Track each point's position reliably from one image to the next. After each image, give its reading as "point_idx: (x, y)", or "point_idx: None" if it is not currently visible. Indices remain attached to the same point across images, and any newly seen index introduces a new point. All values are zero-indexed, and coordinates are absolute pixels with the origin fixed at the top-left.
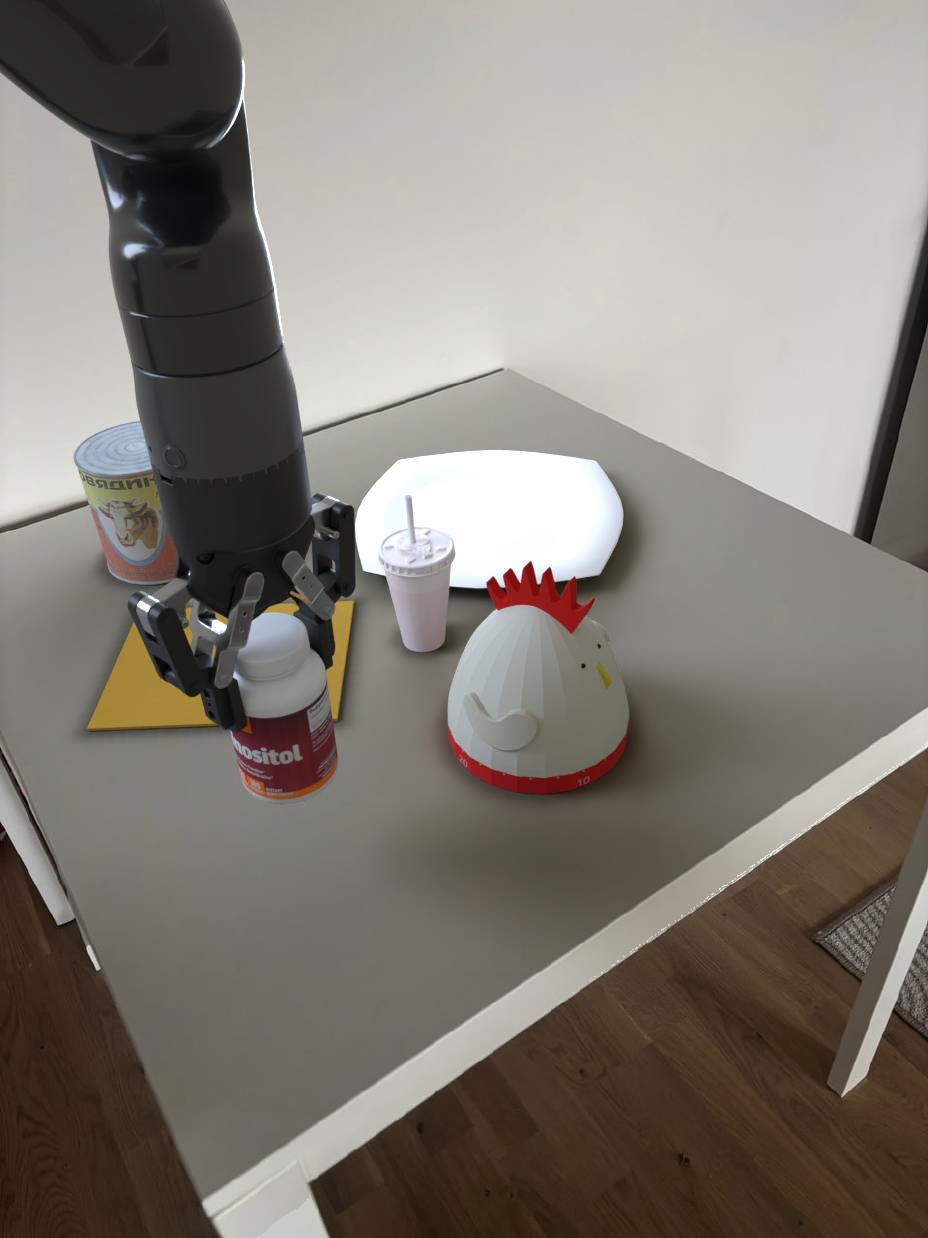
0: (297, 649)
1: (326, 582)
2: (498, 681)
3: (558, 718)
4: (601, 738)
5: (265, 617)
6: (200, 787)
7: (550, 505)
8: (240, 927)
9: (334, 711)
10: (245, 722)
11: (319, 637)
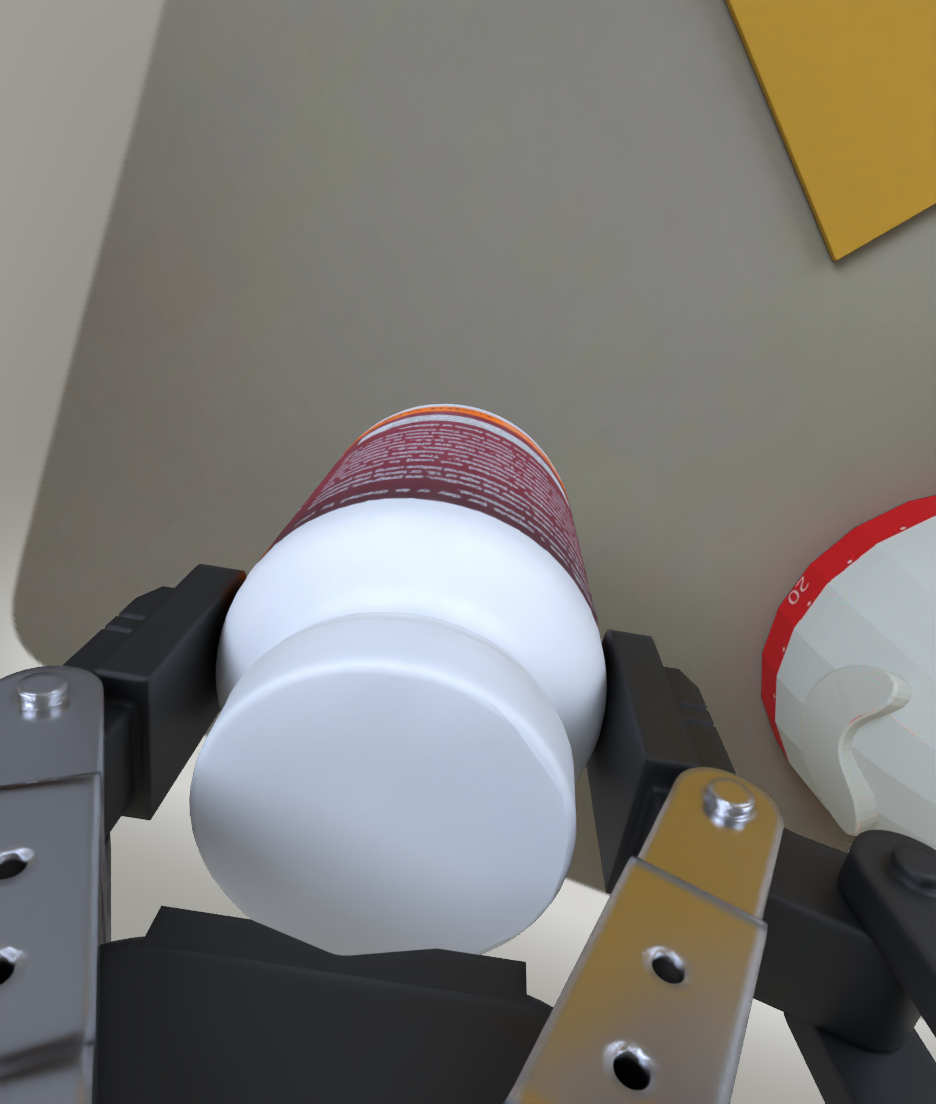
0: None
1: (814, 985)
2: (932, 786)
3: None
4: None
5: (497, 754)
6: (500, 91)
7: None
8: (279, 441)
9: (859, 236)
10: None
11: (600, 839)
